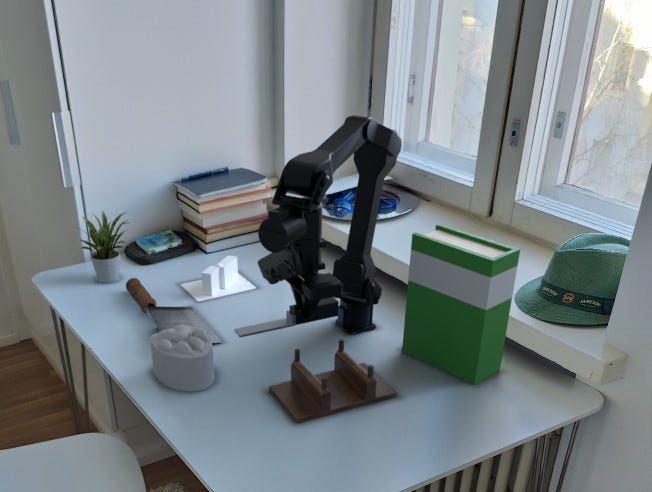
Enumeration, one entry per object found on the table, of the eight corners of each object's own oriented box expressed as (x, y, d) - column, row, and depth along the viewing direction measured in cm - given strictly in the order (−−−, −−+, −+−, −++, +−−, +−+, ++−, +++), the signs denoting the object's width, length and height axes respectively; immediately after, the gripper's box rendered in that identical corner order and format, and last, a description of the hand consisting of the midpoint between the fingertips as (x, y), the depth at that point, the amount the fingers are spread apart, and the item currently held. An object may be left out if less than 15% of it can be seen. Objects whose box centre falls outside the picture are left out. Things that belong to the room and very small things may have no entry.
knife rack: (364, 366, 149) (366, 332, 145) (397, 396, 140) (400, 360, 135) (268, 390, 143) (268, 354, 139) (296, 423, 134) (296, 386, 129)
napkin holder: (236, 271, 189) (235, 249, 186) (257, 288, 181) (256, 264, 177) (179, 284, 184) (177, 261, 181) (198, 302, 175) (196, 278, 172)
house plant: (151, 268, 193) (144, 203, 183) (132, 291, 181) (123, 224, 172) (97, 265, 195) (88, 201, 186) (75, 288, 184) (64, 221, 175)
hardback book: (402, 350, 154) (412, 233, 140) (426, 338, 157) (439, 223, 144) (474, 384, 142) (493, 260, 129) (499, 370, 146) (520, 249, 132)
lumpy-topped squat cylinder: (193, 354, 155) (190, 314, 151) (227, 380, 146) (225, 340, 141) (147, 369, 151) (142, 329, 146) (179, 398, 142) (174, 356, 137)
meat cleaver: (222, 342, 159) (221, 324, 157) (170, 354, 156) (168, 336, 153) (170, 284, 185) (168, 268, 183) (124, 293, 182) (122, 277, 179)
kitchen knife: (331, 310, 148) (332, 296, 146) (338, 316, 145) (339, 301, 144) (234, 331, 142) (233, 316, 140) (239, 337, 140) (239, 322, 138)
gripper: (242, 224, 140) (245, 303, 149) (285, 260, 126) (285, 345, 134) (298, 215, 143) (298, 293, 152) (346, 248, 129) (342, 332, 138)
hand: (304, 315), depth 144 cm, fingers closed on kitchen knife, 2 cm apart
